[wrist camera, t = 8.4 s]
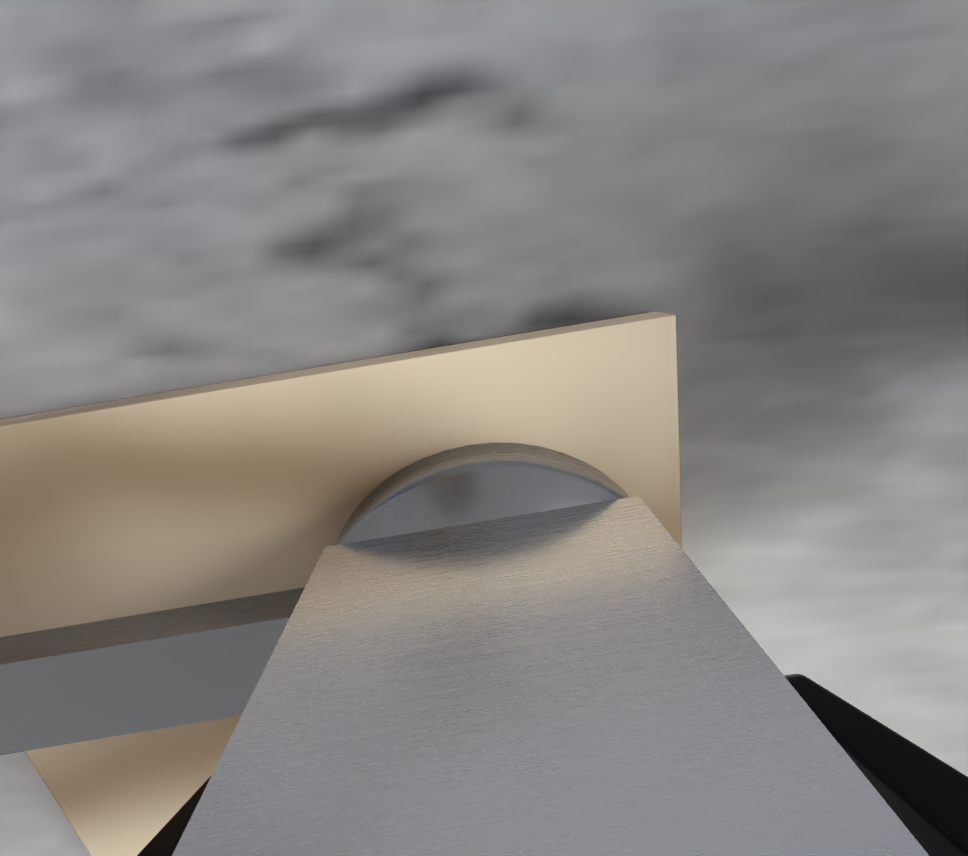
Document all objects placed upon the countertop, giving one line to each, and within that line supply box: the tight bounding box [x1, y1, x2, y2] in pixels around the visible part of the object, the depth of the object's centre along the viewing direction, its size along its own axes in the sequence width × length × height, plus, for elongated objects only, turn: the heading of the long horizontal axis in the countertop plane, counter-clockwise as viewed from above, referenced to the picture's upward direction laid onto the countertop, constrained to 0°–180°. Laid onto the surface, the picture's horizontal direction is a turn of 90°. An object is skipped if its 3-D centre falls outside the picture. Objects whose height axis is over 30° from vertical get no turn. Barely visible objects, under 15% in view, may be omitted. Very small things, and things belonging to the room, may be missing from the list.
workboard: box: [0, 311, 682, 856], centre depth 13 cm, size 20×17×1 cm
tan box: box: [172, 496, 929, 856], centre depth 6 cm, size 6×6×7 cm
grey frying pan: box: [0, 443, 630, 755], centre depth 9 cm, size 8×16×5 cm, turn 99°
